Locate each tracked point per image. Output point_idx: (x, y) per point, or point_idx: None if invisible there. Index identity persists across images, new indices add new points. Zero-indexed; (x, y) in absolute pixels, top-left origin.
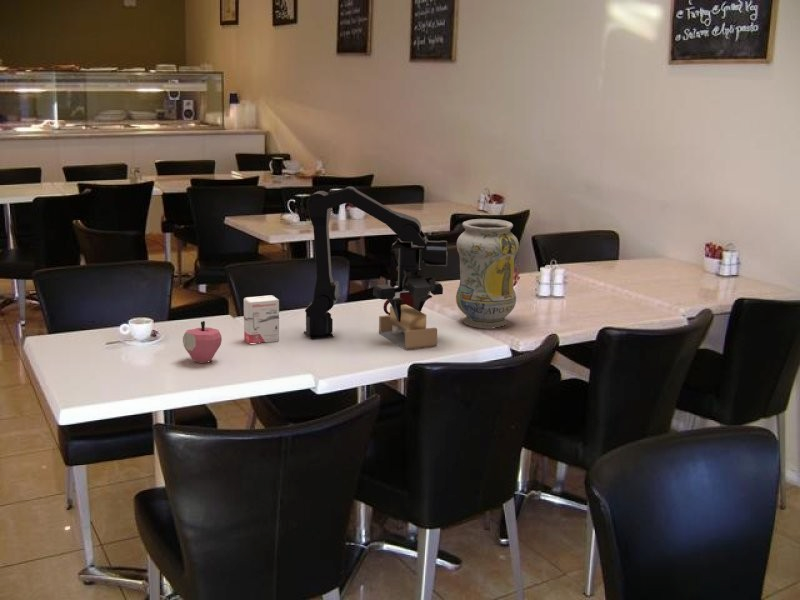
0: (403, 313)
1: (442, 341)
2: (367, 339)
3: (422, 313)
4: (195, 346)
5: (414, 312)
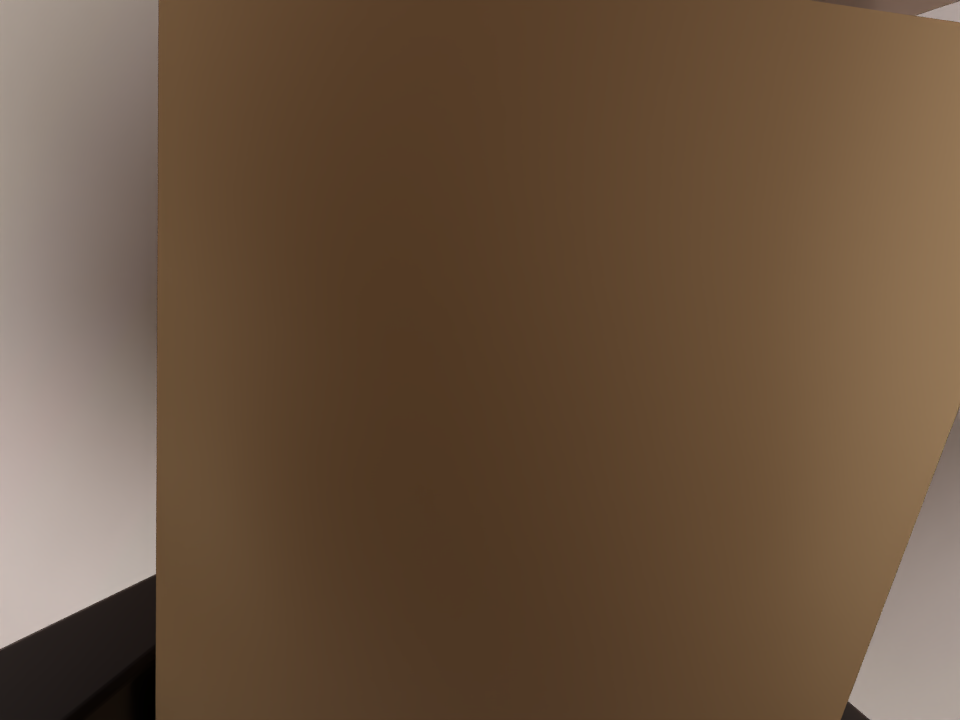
0: (865, 629)
1: (67, 84)
2: (931, 687)
3: (209, 225)
4: None
5: (427, 513)
